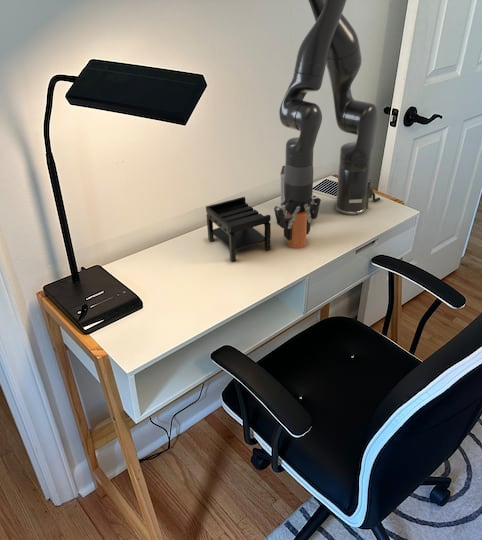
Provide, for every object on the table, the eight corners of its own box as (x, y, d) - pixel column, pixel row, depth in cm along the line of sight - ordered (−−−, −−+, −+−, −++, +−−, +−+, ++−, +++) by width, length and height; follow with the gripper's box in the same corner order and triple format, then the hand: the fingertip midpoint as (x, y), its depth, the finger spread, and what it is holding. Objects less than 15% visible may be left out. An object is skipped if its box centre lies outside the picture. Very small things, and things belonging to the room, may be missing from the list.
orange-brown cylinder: (298, 237, 146) (299, 205, 141) (309, 245, 143) (311, 212, 137) (283, 242, 144) (284, 210, 139) (294, 250, 140) (295, 217, 135)
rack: (245, 229, 150) (244, 196, 144) (270, 249, 140) (270, 215, 135) (207, 240, 144) (204, 206, 139) (231, 262, 135) (229, 227, 129)
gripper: (283, 190, 127) (282, 249, 136) (329, 178, 134) (325, 235, 143) (267, 180, 132) (267, 237, 141) (312, 168, 139) (309, 224, 148)
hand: (297, 235), depth 142 cm, fingers closed on orange-brown cylinder, 5 cm apart
